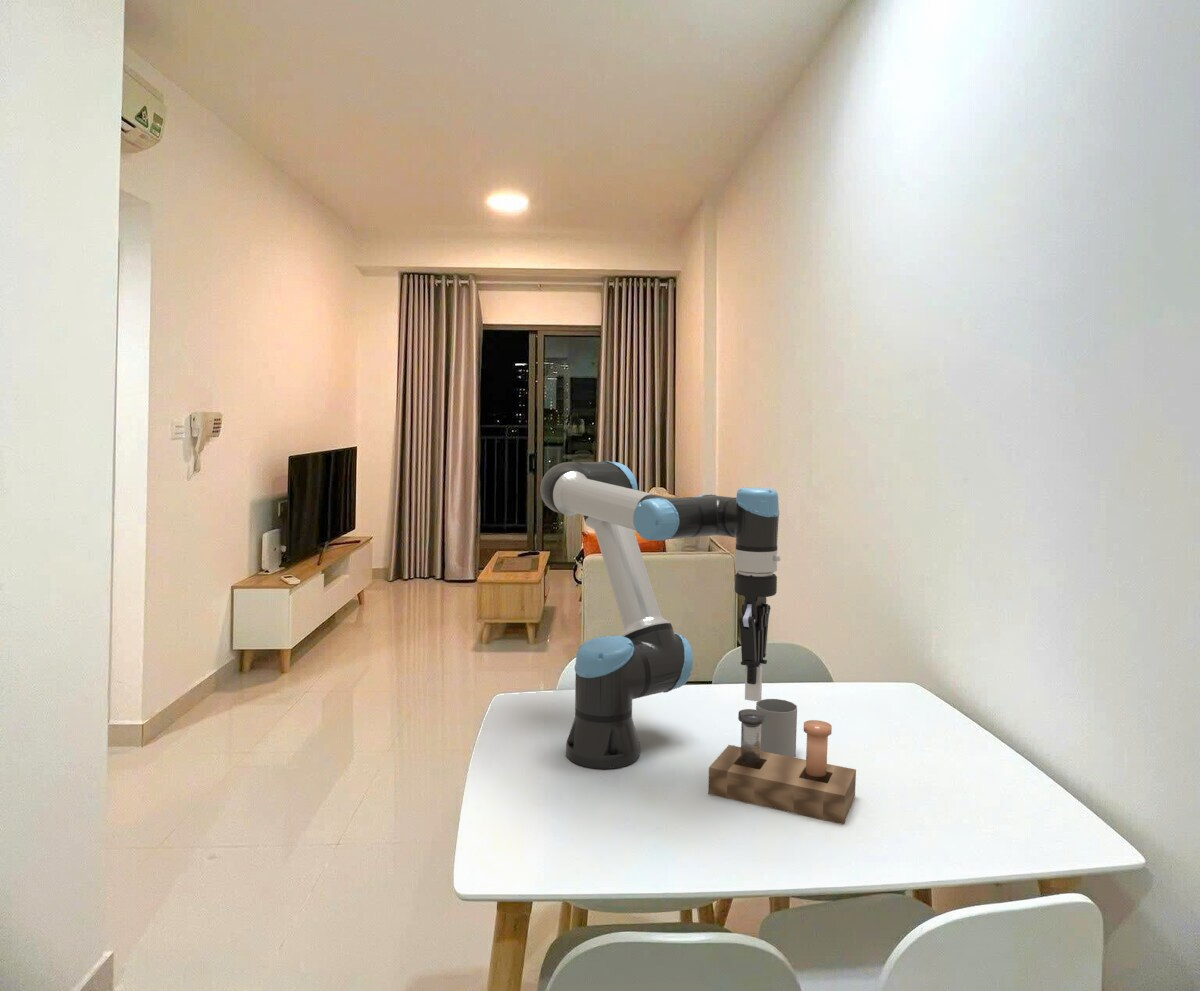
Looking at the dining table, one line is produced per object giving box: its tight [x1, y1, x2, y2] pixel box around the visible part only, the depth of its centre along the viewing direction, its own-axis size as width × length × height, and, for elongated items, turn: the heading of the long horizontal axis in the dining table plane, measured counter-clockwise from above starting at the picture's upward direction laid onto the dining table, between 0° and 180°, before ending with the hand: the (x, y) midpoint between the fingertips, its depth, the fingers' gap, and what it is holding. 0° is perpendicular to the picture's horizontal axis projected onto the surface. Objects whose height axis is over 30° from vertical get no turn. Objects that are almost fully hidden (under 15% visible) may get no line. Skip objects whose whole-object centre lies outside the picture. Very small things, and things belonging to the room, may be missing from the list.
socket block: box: [707, 744, 857, 825], centre depth 143 cm, size 24×12×5 cm, turn 63°
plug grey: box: [737, 708, 765, 763], centre depth 146 cm, size 5×5×9 cm
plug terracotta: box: [803, 719, 833, 777], centre depth 140 cm, size 5×5×9 cm
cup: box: [755, 698, 798, 758], centre depth 163 cm, size 8×8×10 cm
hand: (753, 699), depth 145 cm, fingers closed
